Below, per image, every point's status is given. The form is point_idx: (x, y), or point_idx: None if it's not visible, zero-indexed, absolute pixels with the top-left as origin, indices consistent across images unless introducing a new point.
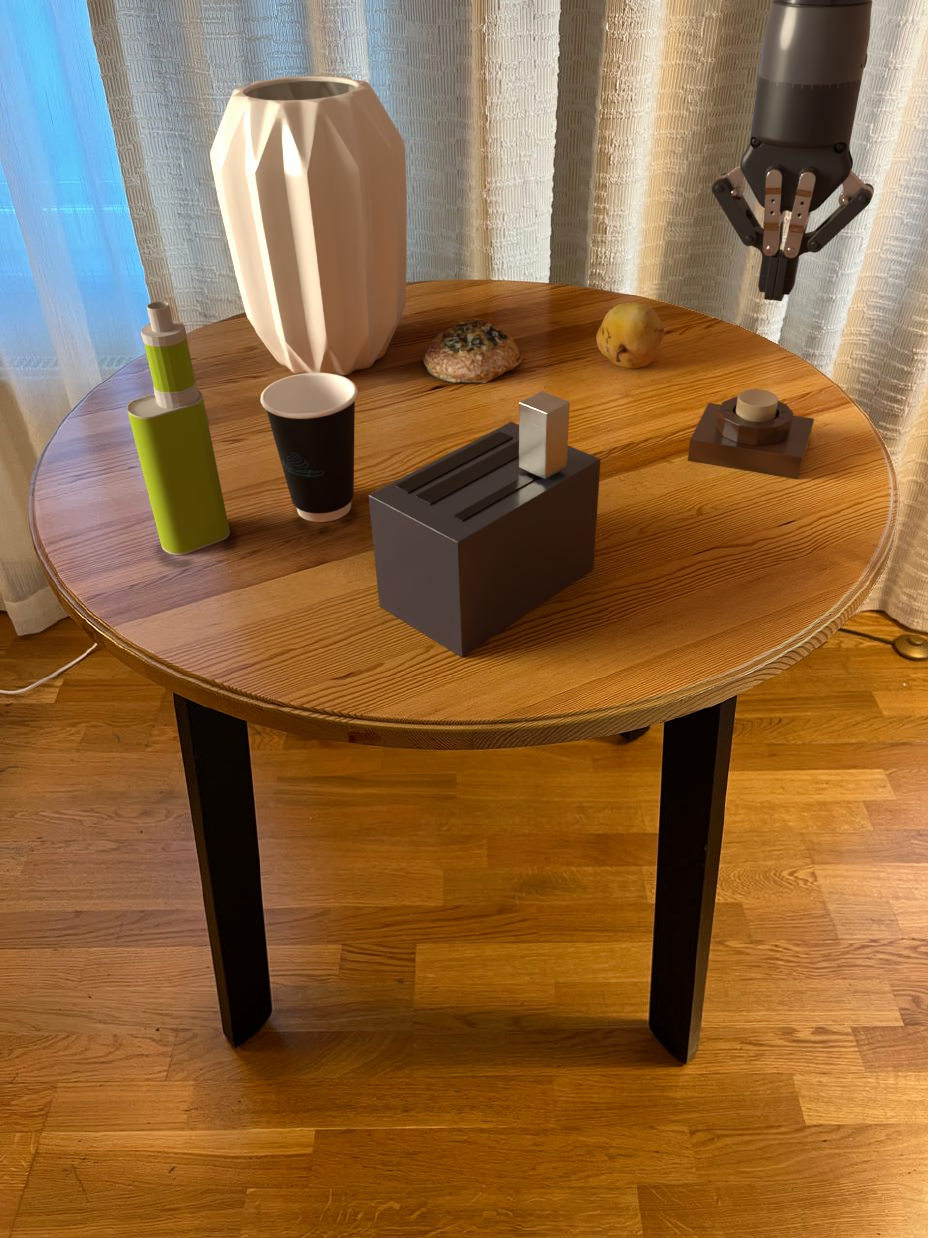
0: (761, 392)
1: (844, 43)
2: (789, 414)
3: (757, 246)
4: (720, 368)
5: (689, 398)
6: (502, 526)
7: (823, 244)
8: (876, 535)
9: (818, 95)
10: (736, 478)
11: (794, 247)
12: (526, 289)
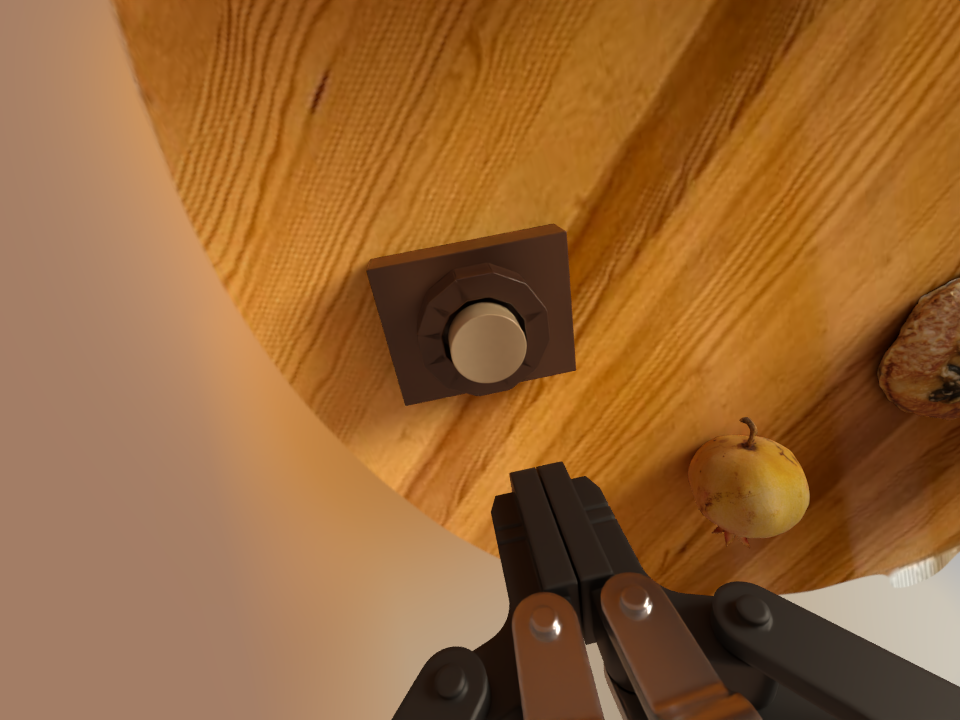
0: (490, 371)
1: None
2: (427, 356)
3: (688, 600)
4: None
5: (609, 408)
6: None
7: (413, 700)
8: (165, 139)
9: None
10: (460, 208)
11: (537, 641)
12: (885, 557)
